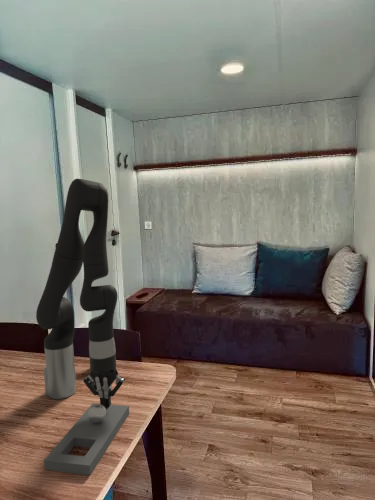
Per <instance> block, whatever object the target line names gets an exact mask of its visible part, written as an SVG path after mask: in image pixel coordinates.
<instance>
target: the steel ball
mask: <svg viewBox="0 0 375 500" xmlns="http://www.w3.org/2000/svg"><path fill="white" fill-rule="evenodd" d="M88 416H89V419H90V420H91V421H92V422H94V423H99V422H101V421H103V420H104V418H105V416H106V408H105V407H104V406H103V405H102V404H100V403H98V404H95V405H93V406H92V407H91V408H90V409H89V412H88Z"/></svg>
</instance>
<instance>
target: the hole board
mask: <svg viewBox="0 0 375 500" xmlns="http://www.w3.org/2000/svg"><path fill="white" fill-rule="evenodd" d="M95 404H99V403H98V402H97V403H96V402H92V403H91V404H90V406H89V407H87V409H86V410H85V412H84V413H83V414H82V415H81V417H79V419H78V420H77V421H76V422H75V423H74V424H73V426H71V428H70V430H69V431H68V432H67V433H66V434H65V435H64V437H62V439H61V440H60V441H58V443H57V445H56V446H55V447H54V448H53V449H52V451H50V452H49V454H48V455H47V456H46V458H44V460H43V463H44V470H45V471H46V470H47V471H51V472H52V471H54V472H61V473H70V474H76V475H84V476H91V475H92V473H93V472H94V470H95V469H96V468H97V465H98V464H99V463H100V462H101V460H102V458H103V456H104V454H105V453H106V451H107V450H108V448H109V447H110V445H111V444H112V442H113V441H114V438H115V437H116V436H117V434H118V432H119V431H120V429H121V428H122V426H123V425H124V423H125V422H126V421H127V418H128V417H129V415H130V406H129V405H122V404H121V405H120V404H111V405H110V407H109V408H108V409H106V416H105V418H104V420H103V421H101V422H99V423H94V422H92V421H91V420H90V419H89V416H88V412H89V409H90V408H91V407H92V406H93V405H95ZM74 447H80V448H88V449H89V450H88V451H87V452H86V453H85V455H84V456H83V455H74V454H70V453H71V451H72V450H73V448H74Z"/></svg>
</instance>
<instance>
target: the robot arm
mask: <svg viewBox="0 0 375 500" xmlns="http://www.w3.org/2000/svg"><path fill="white" fill-rule="evenodd" d="M65 200H66V201H65V207H64V211H63V217H62V223H61V227H60V231H59V236H58V240H57V243H56V246H55V250H54V253H53V258H52V263H51V265H50V269H49V273H48V277H47V281H46V284H45V286H44V290H43V292H42V295H41V297H40V299H39V303H38V304H37V308H36V312H35V313H36V314H35V315H36V316H35V318H36V322H37V325H38V326H39V327H40V328H41V329H43V330H50V332H49V333H47V335H46V336H45V337H44V340H43V347H44V357H45V358H44V359H45V368H44V369H43V378H44V380H43V381H44V388H45V390H44V391H45V396H47V397H49V398H50V399H54V400H61V399H65V398H68V397H71V396H72V395H74V394H75V393H76V391H77V383H76V382H77V381H76V379H77V378H76V369H75V354H74V352H75V351H74V342H73V341H74V337H75V312H74V311H75V310H74V305H73V304H72V302H71V300H70V299H68V298H67V297H64V296H65V294H66V291H68V289H69V288H70V286H71V285H72V284H73V282H74V281H75V280H76V278H77V277H78V275H79V274H80V272H81V270H82V267H83V282H82V285H81V287H82V288H81V292H80V297H79V305H80V307H81V308H82V309H83V311H84V312H96V311H104V312H103V313H102V314H101V315H98V316H95V317H93V318H90V319H89V321H88V323H87V326H88V353H89V367H90V371H89V374H88V375H87V376H86V377H84V378H83V380H82V381H83V384H84V385H85V386H86V387H87V388H88V390H89V391H90V392H91V394H93V396H98V397H99V404H102V405H103V406H104V407H105V408H106V409H108V408H109V407H110V405H112V398H111V397H114V396H115V394H116V393H117V391H119V389H120V388H121V387H122V385H123V384H124V382H125V381H126V378H125V377H121V376H120V375H119V372H118V370H117V357H116V356H117V355H116V350H117V349H116V343H115V336H114V317H115V312H116V311H115V310H116V307H117V302H118V295H119V294H118V291H117V289H116V287H114V286H113V285H111V284H104V285H103V284H102V285H96V286H95V285H94V286H92V284H93V283H94V281H96V280H98V279H99V280H100V279H102V278H106V277H107V276H108V275H109V272H110V271H109V261H108V251H107V232H108V231H107V229H108V218H109V217H108V215H109V193H108V189H107V187H106V185H105V184H103V183H102V182H101V183H100V182H97V181H92V180H87V179H83V178H75V179H74V180H72V181H71V183H70V185H69V187H68V190H67V195H66V199H65ZM82 211H87V212H92V215H93V224H92V227H91V229H90V232H89V233H88V235H87V237H86V239H85V241H84V239H83V236H82V233H81V230H80V225H79V223H80V217H81V212H82ZM114 382H115V387H113V389H112V386H113V383H114Z"/></svg>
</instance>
